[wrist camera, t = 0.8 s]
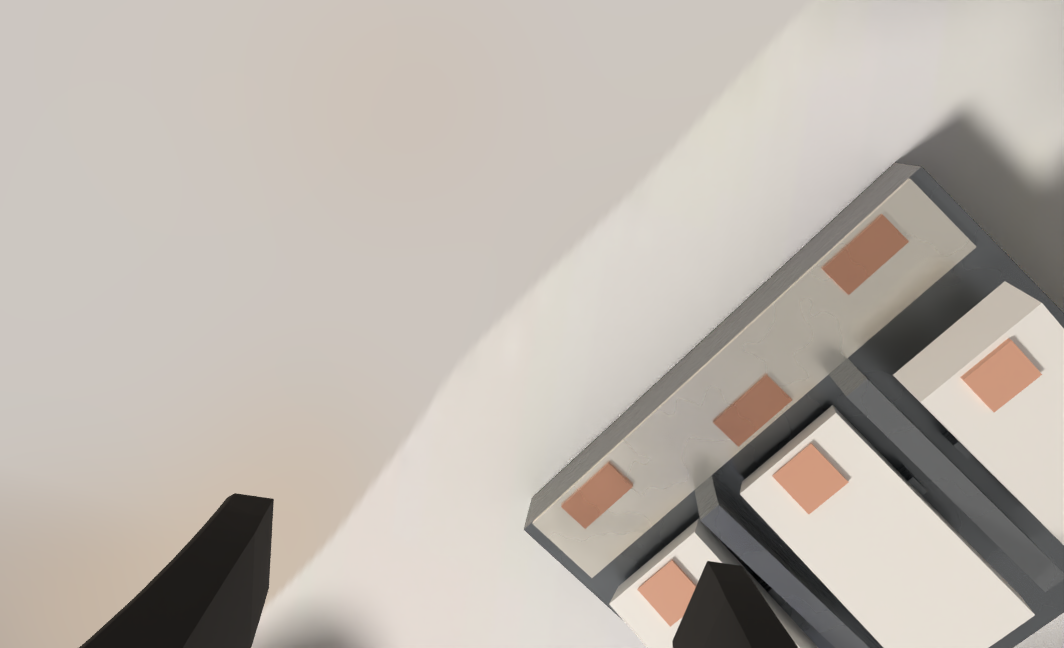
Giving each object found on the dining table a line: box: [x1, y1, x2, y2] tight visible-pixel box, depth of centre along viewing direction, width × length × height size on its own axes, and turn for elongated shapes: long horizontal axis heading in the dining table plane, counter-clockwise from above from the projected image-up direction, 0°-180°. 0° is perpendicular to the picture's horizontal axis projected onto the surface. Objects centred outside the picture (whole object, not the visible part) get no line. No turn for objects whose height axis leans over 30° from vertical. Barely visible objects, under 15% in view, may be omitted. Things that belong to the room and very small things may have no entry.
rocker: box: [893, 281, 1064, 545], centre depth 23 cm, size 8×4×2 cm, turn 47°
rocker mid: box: [740, 405, 1035, 648], centre depth 25 cm, size 8×4×2 cm, turn 47°
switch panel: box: [524, 163, 1064, 648], centre depth 27 cm, size 15×18×5 cm
